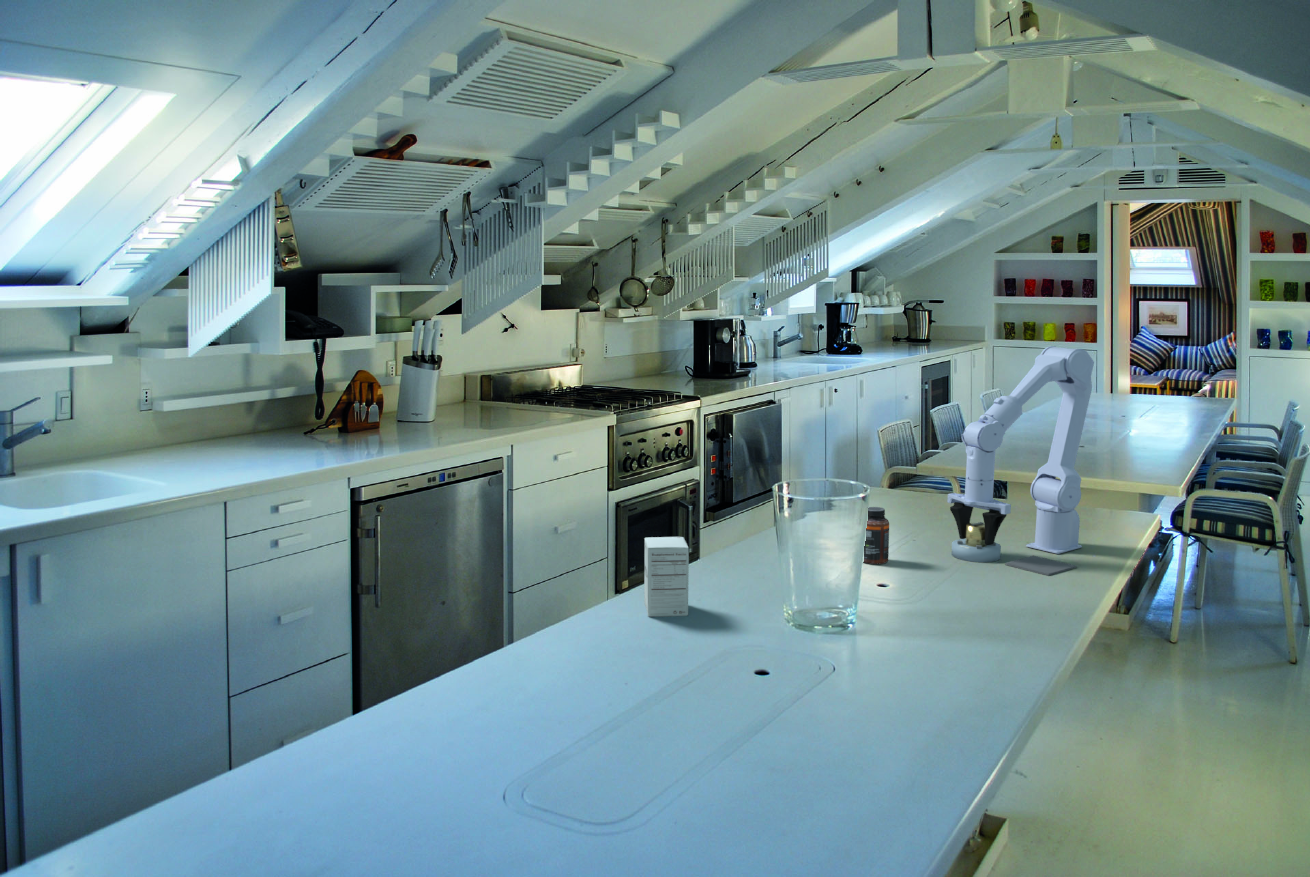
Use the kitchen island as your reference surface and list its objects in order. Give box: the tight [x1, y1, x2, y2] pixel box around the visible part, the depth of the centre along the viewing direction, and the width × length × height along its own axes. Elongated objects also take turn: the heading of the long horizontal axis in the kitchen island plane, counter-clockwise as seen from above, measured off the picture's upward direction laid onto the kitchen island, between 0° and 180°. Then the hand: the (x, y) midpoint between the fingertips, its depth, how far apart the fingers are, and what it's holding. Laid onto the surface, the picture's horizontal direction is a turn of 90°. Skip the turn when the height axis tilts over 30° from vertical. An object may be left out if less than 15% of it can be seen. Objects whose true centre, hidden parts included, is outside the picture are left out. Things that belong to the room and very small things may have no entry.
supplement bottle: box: [863, 506, 890, 565], centre depth 221 cm, size 6×6×11 cm
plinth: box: [951, 538, 1002, 563], centre depth 226 cm, size 10×10×3 cm
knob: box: [965, 521, 987, 547], centre depth 226 cm, size 4×4×5 cm
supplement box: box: [643, 536, 690, 618], centre depth 188 cm, size 7×7×13 cm
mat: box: [1004, 555, 1077, 577], centre depth 218 cm, size 10×10×1 cm
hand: (976, 541), depth 226 cm, fingers open, 6 cm apart
